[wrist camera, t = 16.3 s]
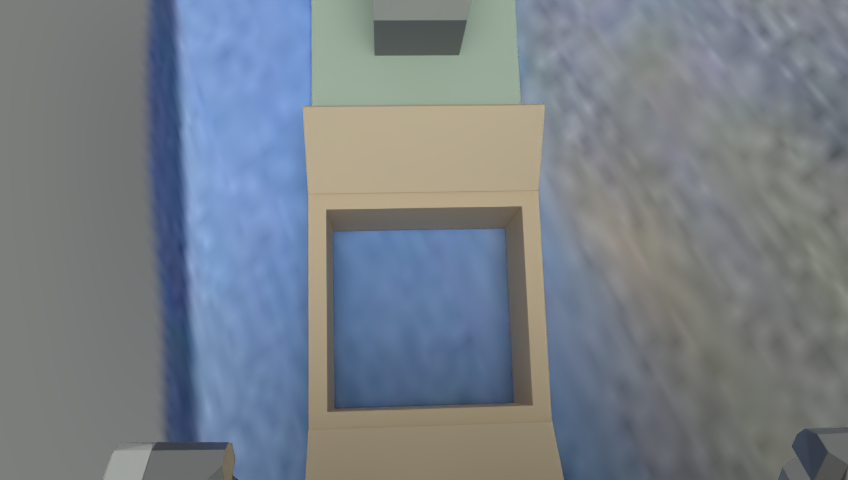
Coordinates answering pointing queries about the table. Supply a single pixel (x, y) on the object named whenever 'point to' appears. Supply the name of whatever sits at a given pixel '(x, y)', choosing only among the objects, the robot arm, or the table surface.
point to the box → (419, 27)
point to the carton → (419, 210)
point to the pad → (413, 60)
